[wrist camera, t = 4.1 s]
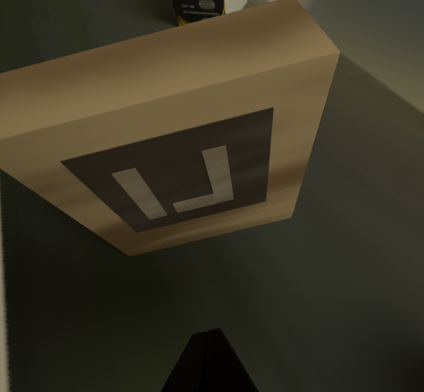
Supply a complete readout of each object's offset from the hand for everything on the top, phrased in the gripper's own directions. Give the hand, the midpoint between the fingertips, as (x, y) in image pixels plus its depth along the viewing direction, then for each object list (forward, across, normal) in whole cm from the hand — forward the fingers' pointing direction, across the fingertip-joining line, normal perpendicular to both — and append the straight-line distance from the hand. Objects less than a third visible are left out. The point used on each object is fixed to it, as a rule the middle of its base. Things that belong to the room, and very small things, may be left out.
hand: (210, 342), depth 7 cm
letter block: (+12, 0, 0) cm, 12 cm away
